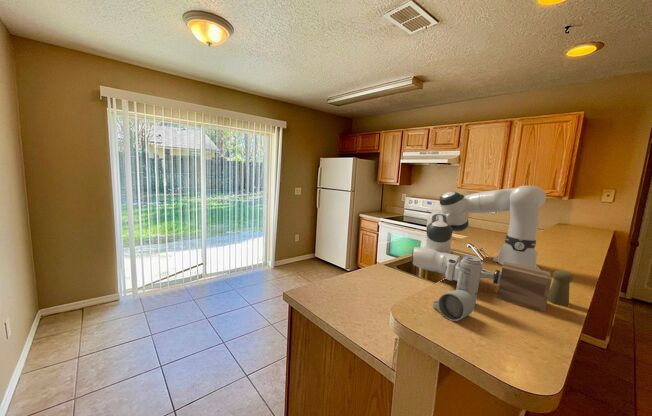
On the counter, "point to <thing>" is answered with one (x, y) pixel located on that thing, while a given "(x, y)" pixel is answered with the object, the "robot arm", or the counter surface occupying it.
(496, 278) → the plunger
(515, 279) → the block
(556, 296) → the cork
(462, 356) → the counter surface
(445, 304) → the ceramic mug
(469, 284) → the energy drink can
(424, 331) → the counter surface
